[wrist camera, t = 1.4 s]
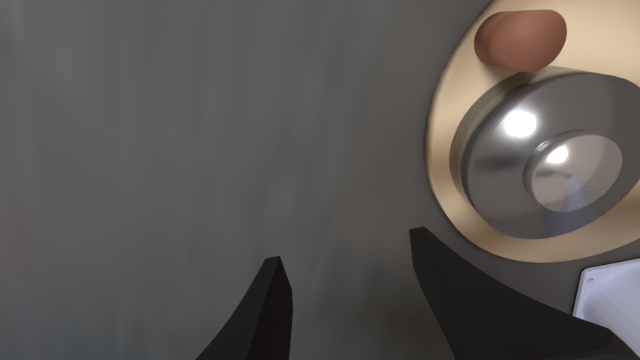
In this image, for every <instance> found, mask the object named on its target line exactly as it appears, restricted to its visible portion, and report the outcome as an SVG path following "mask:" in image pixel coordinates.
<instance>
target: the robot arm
mask: <svg viewBox="0 0 640 360" xmlns="http://www.w3.org/2000/svg"><path fill="white" fill-rule="evenodd" d="M409 232H410V241H411V251H412V260H413V267H414V270H415V273H416V275H417V278H418V281H419V283H420V286H421V289H422V291H423V293H424V295H425V297H426V299H427V301H428V303H429V305H430V307H431V309H432V311H433V313H434V315H435V317H436V319H437V320H438V322H439V324H440V326H441V328H442V330H443V332H444V334H445V336H446V338H447V340H448V343H449V345H450V347H451V349H452V352H453V354H454V357H455V359H456V360H640V258H639V259H634V260H629V261H623V262H618V263H613V264H608V265H602V266H597V267H592V268H587V269H585V270H583V271H582V273H581V278H580V282H579V287H578V291H577V296H576V301H575V305H574V310H573V314H572V315H569V314H567V313H564V312H562V311H559V310H557V309H555V308H552V307H550V306H547V305H545V304H543V303H541V302H538V301H536V300H534V299H532V298H530V297H528V296H526V295H524V294H522V293H519V292H517V291H515V290H513V289H512V288H510V287H508V286H506V285H504V284H502V283H501V282H499V281H497V280H495V279H494V278H492V277H490V276H489V275H487V274H486V273H484V272H482V271H481V270H479V269H478V268H476V267H475V266H473V265H472V264H471V263H469V262H468V261H466V260H465V259H464V258H462V257H461V256H460V255H458V254H457V253H456V252H454V251H453V250H452V249H450V248H449V247H448V246H447V245H445V244H444V243H443V242H442V241H441V240H439V239H438V238H437V237H436V236H435V235H434V234H432V233H431V232H430V231H429V230H428V229H427V228H425V227H419V228H414V229H410V230H409ZM292 316H293V303H292V289H291V286H290V283H289V281H288V278H287V275H286V272H285V269H284V267H283V264H282V261H281V258H280V256H277V257H272V258H267V259H265V261H264V262H263V264H262V266H261V268H260V270H259V271H258V273H257V275H256V277H255V279H254V280H253V282H252V284H251V286H250V287H249V289H248V291H247V292H246V294H245V296H244V297H243V299H242V300H241V302H240V304H239V305H238V306H237V308H236V309H235V311H234V312H233V314H232V315H231V317H230V318H229V320H228V321H227V323H226V324H225V325H224V327H223V328H222V329H221V331H220V332H219V333H218V334H217V336H216V337H215V338H214V339H213V340H212V342H211V343H210V344H209V345H208V346H207V347H206V348H205V349H204V351H203V352H202V353H201V354H200V355H199V356H198V357H197V358H196V359H195V360H289V351H290V340H291V328H292Z"/></svg>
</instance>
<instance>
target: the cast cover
mask: <svg viewBox="0 0 640 360" xmlns="http://www.w3.org/2000/svg"><path fill="white" fill-rule="evenodd" d="M449 167H450V173H451V177H452V180H453V182H454V184H455V186H456V188H457V189H458V191H459V192H460V194H461V195H462V196H463V197H464V198H465V199H466V200H467V201H468V202H469V203H470V205H471V206H472V207H473V208H474V209H475V210H476V211H477V212H478V213H479V215H480V216H481V217H482V218H483V219H484V220H485V221H486V222H487V223H488V224H489V225H490V226H491V227H493V228H494V229H495V230H497V231H499V232H501V233H503V234H505V235H508V236H511V237H515V238H520V239H545V238H551V237H556V236H560V235H564V234H566V233H569V232H572V231H575V230H577V229H579V228H582V227H584V226H586V225H588V224H590V223H591V222H593V221H595V220H597V219H598V218H600V217H601V216H603V215H604V214H606V213H607V212H608V211H610V210H611V209H612V208H613V207H615V206H616V205H617V204H618V203H619V202H620V201H621V200H622V199H624V197H625V196H626V195H627V194H628V193H629V192H630V191H631V190H632V189H633V188H634V186H635V185H636V184H637V182H638V181H639V180H640V87H639V86H637V85H636V84H634V83H632V82H630V81H628V80H626V79H624V78H620V77H617V76H612V75H606V74H601V73H595V72H589V71H584V70H578V69H572V68H567V67H559V66H546V67H545V68H543V69H541V70H538V71H535V72H522V71H521V72H518V73H516V74H514V75H511V76H509V77H507V78H505V79H504V80H502V81H500V82H498V83H497V84H496V85H494V86H493V87H491V88H490V89H489V90H487V91H486V92H485V93H484V94H483V95H482V96H480V97H479V98H478V99H477V101H476V102H475V103H474V104H473V105H472V106H471V107H470V109H469V110H468V111H467V113H466V114H465V115H464V117H463V118H462V120H461V122H460V123H459V125H458V127H457V130H456V132H455V134H454V137H453V140H452V143H451V148H450V153H449Z"/></svg>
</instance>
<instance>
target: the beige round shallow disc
mask: <svg viewBox="0 0 640 360" xmlns="http://www.w3.org/2000/svg"><path fill="white" fill-rule="evenodd" d="M546 66H559V67H567V68H572V69H578V70H584V71H589V72H595V73H601V74H606V75H612V76H617V77H620V78H624V79H626V80H628V81H630V82H632V83H634V84H636V85H637V86H639V87H640V0H492V1H491V2H490V3H489V4H488V5H487V6H486V7H485V9H484V10H483V11H482V12H481V13H480V14H479V16H478V17H477V18H476V19H475V20H474V22H473V23H472V24H471V25H470V26H469V28H468V29H467V31H466V32H465V34H464V35H463V37H462V38H461V40H460V41H459V43H458V44H457V46H456V47H455V49H454V50H453V52H452V54H451V56H450V58H449V60H448V61H447V63H446V65H445V67H444V69H443V71H442V73H441V75H440V78H439V80H438V83H437V85H436V88H435V90H434V93H433V95H432V99H431V103H430V107H429V110H428V114H427V119H426V126H425V133H424V161H425V167H426V174H427V177H428V181H429V184H430V187H431V190H432V192H433V194H434V196H435V198H436V200H437V202H438V204H439V205H440V207H441V208H442V209H443V211H444V212H445V214H446V215H447V216H448V218H449V219H450V220H451V222H452V223H453V224H454V226H455V227H456V228H457V229H458V230H459V231H460V232H461V233H462V234H463V235H464V236H465V237H466V238H467V239H468V240H470V241H471V242H473V243H474V244H476V245H477V246H478V247H480V248H482V249H484V250H486V251H488V252H490V253H492V254H495V255H498V256H501V257H505V258H508V259H512V260H518V261H524V262H538V263H546V262H562V261H569V260H576V259H581V258H585V257H589V256H593V255H597V254H600V253H603V252H606V251H609V250H612V249H615V248H618V247H620V246H623V245H625V244H628V243H630V242H632V241H635V240H637V239H639V238H640V180H639V181H638V182H637V184H636V185H635V186H634V188H633V189H632V190H631V191H630V192H629V193H628V194H627V195H626V196H625V197H624V199H622V200H621V201H620V202H619V203H618V204H617V205H616V206H615V207H613V208H612V209H611V210H610V211H608V212H607V213H606V214H604V215H603V216H601V217H600V218H598V219H597V220H595V221H593V222H591V223H590V224H588V225H586V226H584V227H582V228H579V229H577V230H575V231H572V232H569V233H566V234H564V235H560V236H556V237H551V238H545V239H520V238H515V237H511V236H508V235H505V234H503V233H501V232H499V231H497V230H495V229H494V228H493V227H491V226H490V225H489V224H488V223H487V222H486V221H485V220H484V219H483V218H482V217H481V216H480V215H479V213H478V212H477V211H476V210H475V209H474V208H473V207H472V206H471V205H470V203H469V202H468V201H467V200H466V199H465V198H464V197H463V196H462V195H461V194H460V192H459V191H458V189H457V188H456V186H455V184H454V182H453V180H452V177H451V173H450V167H449V153H450V148H451V143H452V140H453V137H454V134H455V132H456V130H457V127H458V125H459V123H460V122H461V120H462V118H463V117H464V115H465V114H466V113H467V111H468V110H469V109H470V107H471V106H472V105H473V104H474V103H475V102H476V101H477V99H478V98H479V97H480V96H482V95H483V94H484V93H485V92H486V91H487V90H489V89H490V88H491V87H493V86H494V85H496V84H497V83H498V82H500V81H502V80H504V79H505V78H507V77H509V76H511V75H514V74H516V73H518V72H521V71H522V72H535V71H538V70H541V69H543V68H545V67H546Z"/></svg>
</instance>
